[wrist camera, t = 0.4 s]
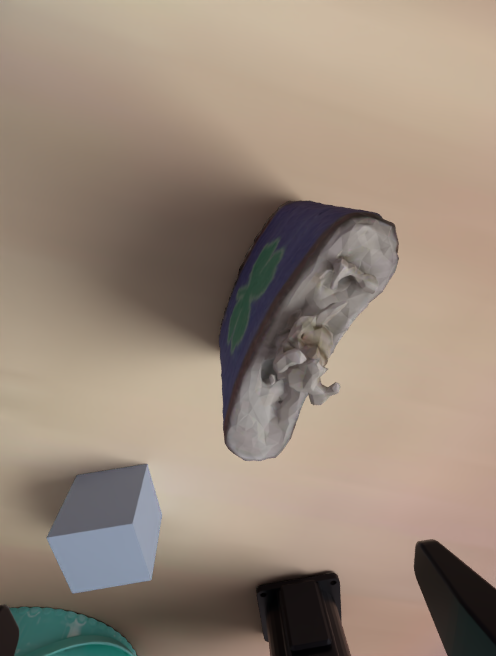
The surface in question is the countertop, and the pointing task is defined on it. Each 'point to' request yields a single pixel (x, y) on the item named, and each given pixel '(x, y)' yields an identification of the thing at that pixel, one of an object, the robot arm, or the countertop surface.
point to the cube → (107, 529)
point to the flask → (295, 316)
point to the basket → (65, 634)
